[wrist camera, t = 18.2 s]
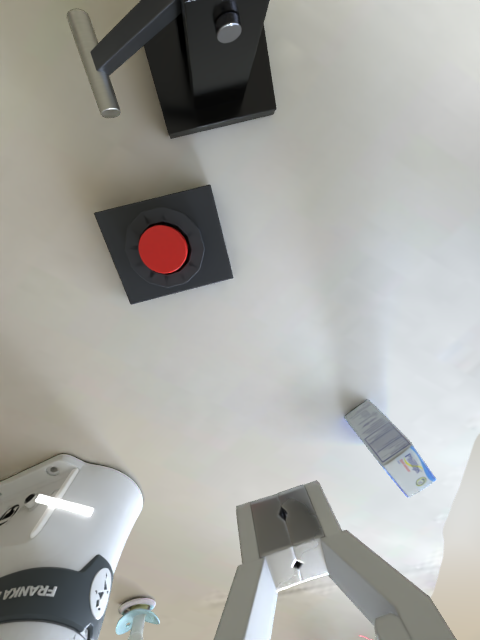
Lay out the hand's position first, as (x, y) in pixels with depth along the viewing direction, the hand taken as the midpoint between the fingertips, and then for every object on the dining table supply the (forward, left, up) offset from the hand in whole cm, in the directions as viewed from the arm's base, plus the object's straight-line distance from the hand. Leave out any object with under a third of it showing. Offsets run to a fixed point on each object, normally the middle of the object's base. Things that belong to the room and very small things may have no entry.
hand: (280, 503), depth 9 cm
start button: (-4, +9, -19) cm, 21 cm away
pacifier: (-29, -49, -23) cm, 61 cm away
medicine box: (+16, -22, -23) cm, 35 cm away
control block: (-4, +9, -22) cm, 24 cm away
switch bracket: (+4, +22, -22) cm, 31 cm away
